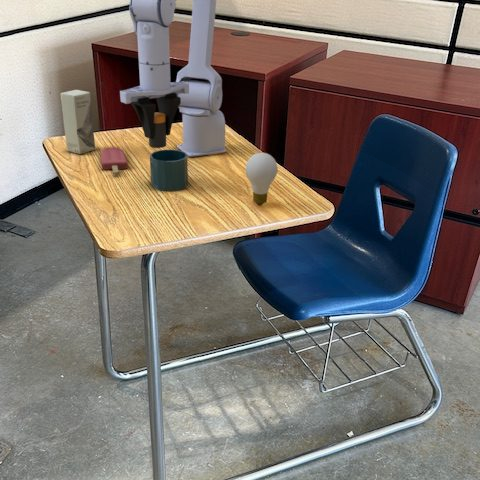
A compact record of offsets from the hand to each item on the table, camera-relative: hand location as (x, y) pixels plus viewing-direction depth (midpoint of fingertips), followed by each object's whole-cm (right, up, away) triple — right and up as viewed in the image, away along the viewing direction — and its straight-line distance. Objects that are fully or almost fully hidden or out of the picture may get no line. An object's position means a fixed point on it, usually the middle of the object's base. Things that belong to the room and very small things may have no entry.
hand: (157, 135), depth 119 cm
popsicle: (-11, -3, +13) cm, 17 cm away
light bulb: (+20, -14, -3) cm, 25 cm away
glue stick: (0, -2, +1) cm, 2 cm away
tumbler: (+2, -9, +4) cm, 10 cm away
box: (-20, +3, +20) cm, 29 cm away
